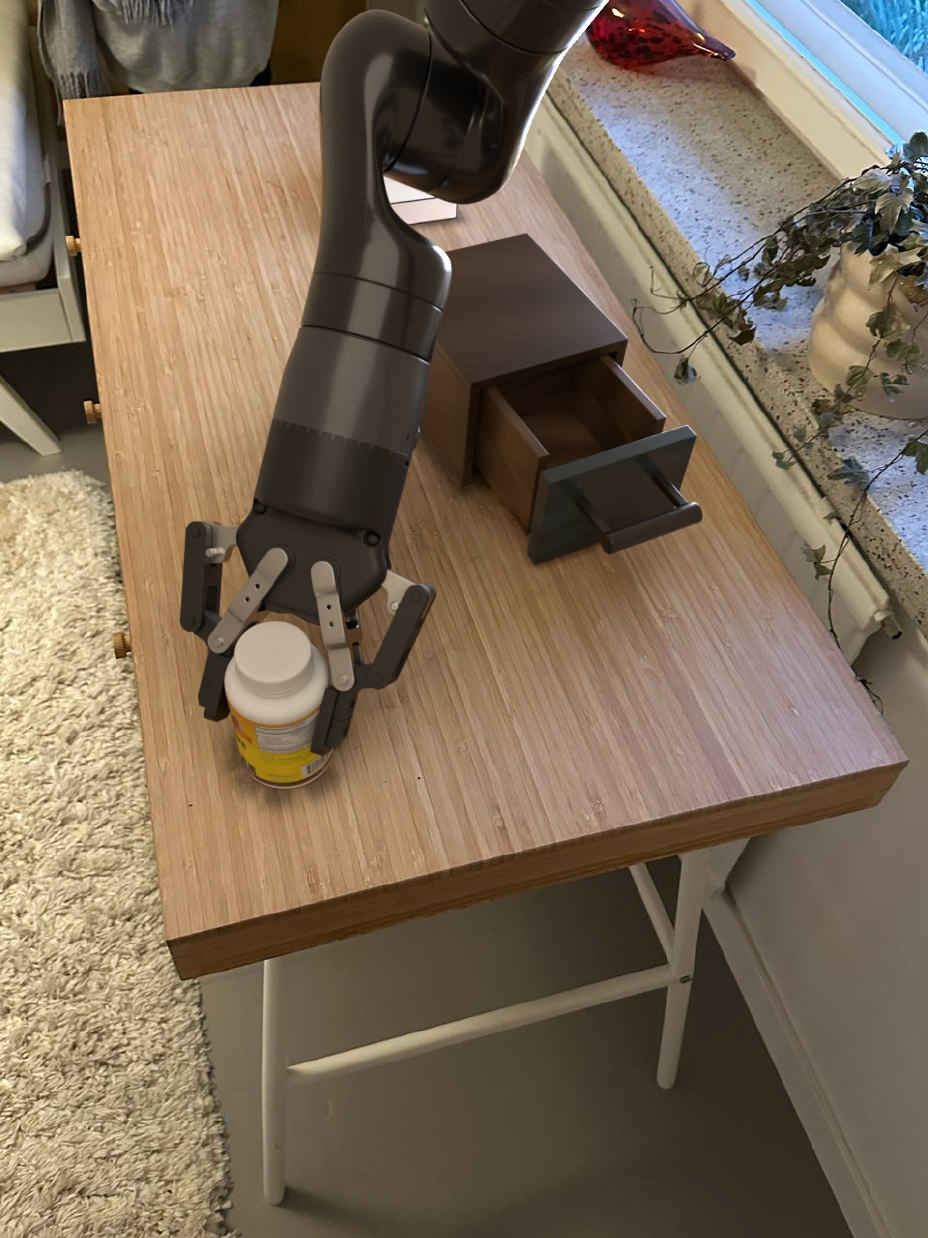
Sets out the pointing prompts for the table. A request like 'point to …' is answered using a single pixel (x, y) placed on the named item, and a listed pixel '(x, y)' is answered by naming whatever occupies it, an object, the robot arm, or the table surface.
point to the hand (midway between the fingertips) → (268, 733)
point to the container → (417, 204)
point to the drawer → (583, 459)
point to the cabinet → (504, 337)
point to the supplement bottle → (277, 703)
